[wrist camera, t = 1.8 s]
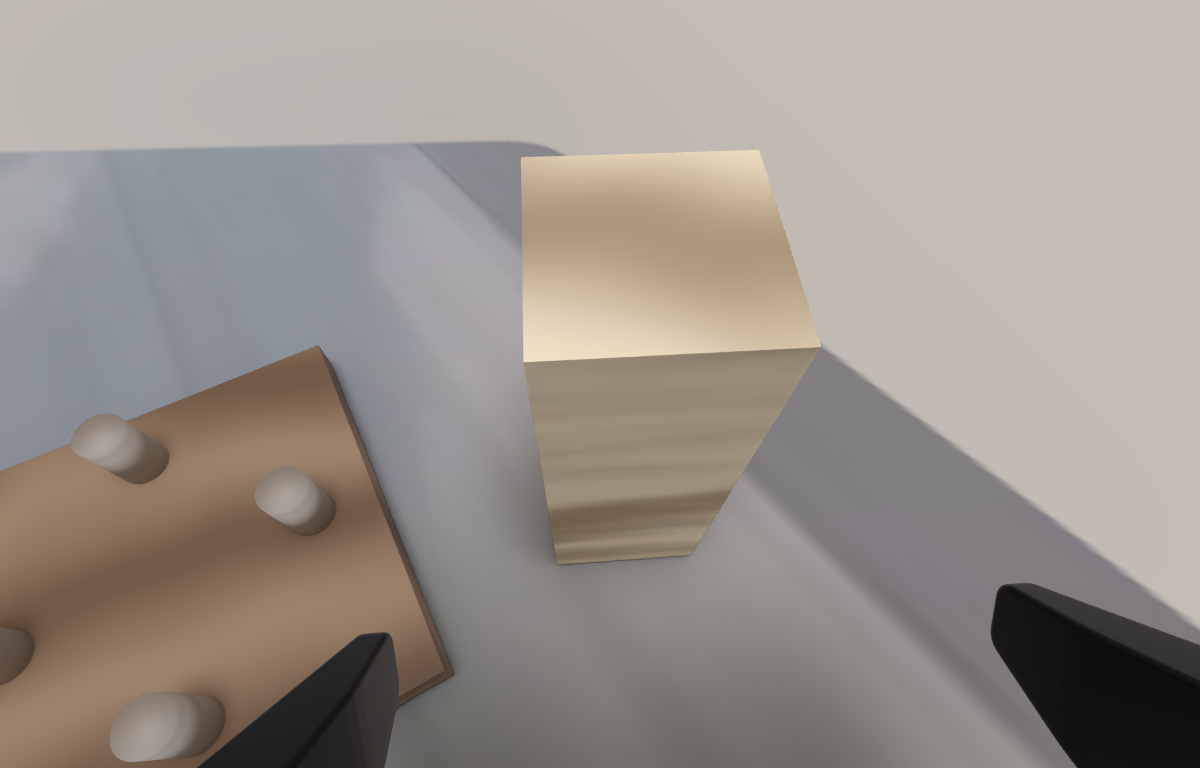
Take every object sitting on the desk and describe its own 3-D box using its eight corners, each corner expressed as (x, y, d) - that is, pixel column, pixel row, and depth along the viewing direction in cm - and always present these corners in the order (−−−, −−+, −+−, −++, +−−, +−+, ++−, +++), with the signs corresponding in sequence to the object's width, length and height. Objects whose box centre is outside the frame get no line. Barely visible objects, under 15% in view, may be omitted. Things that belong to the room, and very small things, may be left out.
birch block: (691, 554, 22) (821, 347, 10) (557, 564, 22) (523, 362, 10) (672, 434, 25) (759, 149, 12) (552, 441, 24) (520, 157, 12)
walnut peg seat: (453, 674, 20) (426, 663, 16) (-25, 950, 16) (-191, 1012, 13) (331, 364, 26) (292, 308, 22) (-38, 514, 22) (-153, 475, 19)
